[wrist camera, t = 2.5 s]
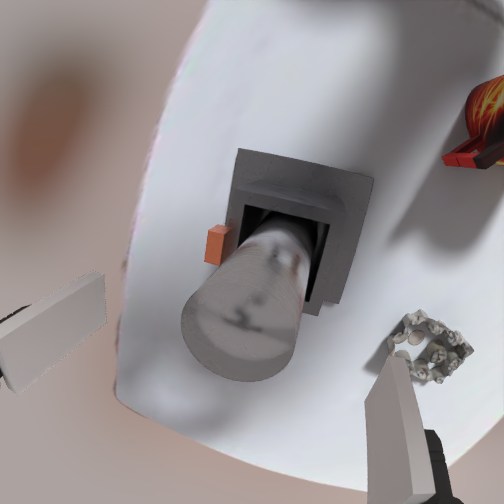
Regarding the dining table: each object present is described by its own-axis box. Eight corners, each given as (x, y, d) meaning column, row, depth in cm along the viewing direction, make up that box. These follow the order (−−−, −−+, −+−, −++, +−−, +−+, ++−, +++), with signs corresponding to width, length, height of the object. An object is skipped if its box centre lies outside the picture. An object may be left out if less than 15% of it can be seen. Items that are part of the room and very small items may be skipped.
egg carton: (377, 344, 34) (381, 364, 30) (415, 298, 31) (424, 314, 28) (432, 375, 34) (438, 395, 30) (468, 335, 31) (479, 353, 27)
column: (270, 196, 30) (180, 260, 12) (323, 209, 30) (317, 297, 11) (259, 251, 32) (173, 369, 14) (310, 264, 32) (281, 404, 13)
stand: (241, 148, 31) (194, 144, 20) (372, 177, 29) (399, 189, 18) (221, 269, 36) (174, 318, 25) (338, 300, 33) (340, 365, 22)
